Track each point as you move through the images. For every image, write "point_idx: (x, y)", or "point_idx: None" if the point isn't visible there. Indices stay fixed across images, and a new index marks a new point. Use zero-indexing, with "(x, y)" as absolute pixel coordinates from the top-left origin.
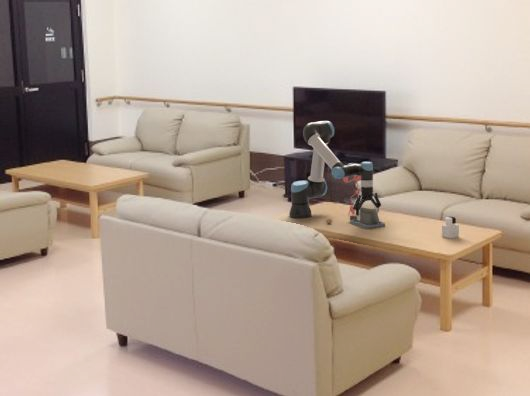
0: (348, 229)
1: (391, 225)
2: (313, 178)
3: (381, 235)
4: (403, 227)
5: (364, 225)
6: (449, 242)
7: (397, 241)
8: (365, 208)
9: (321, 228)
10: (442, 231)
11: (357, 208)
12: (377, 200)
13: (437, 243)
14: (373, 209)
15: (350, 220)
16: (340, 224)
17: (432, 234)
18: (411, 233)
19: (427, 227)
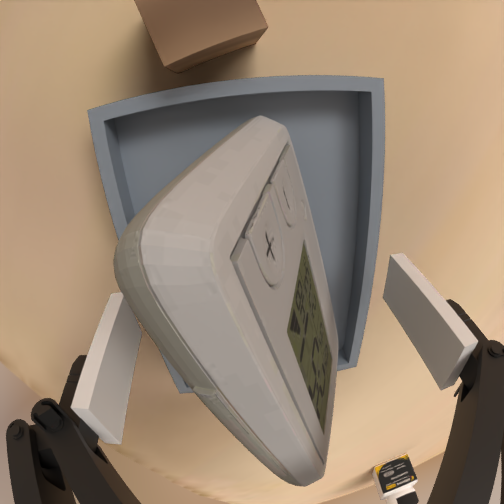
0: (41, 318)
1: (393, 341)
2: None
3: (204, 452)
4: (399, 386)
5: (167, 362)
6: (341, 487)
7: (223, 485)
8: (242, 442)
9: None
10: (378, 480)
11: (77, 442)
12: (502, 467)
13: (312, 492)
14: (298, 482)
15: (90, 115)
16: (4, 126)
17: (378, 454)
18: (338, 449)
19: (452, 395)
